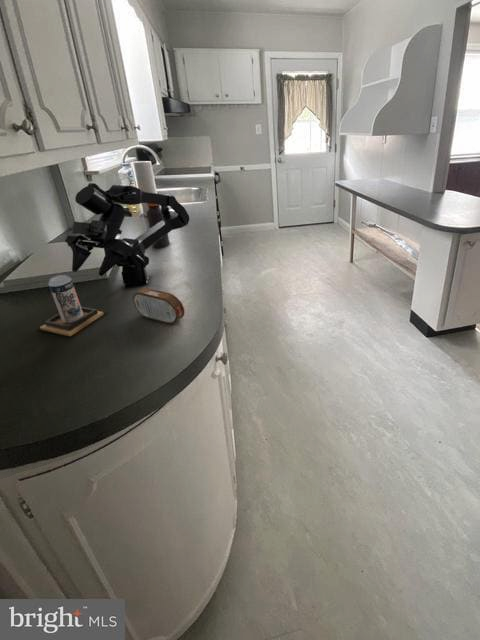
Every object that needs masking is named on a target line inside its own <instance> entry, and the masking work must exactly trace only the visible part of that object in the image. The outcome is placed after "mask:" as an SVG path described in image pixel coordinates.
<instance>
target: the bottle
mask: <svg viewBox="0 0 480 640" xmlns="http://www.w3.org/2000/svg"><path fill="white" fill-rule="evenodd" d="M146 206H147V207H148V209H147V211H146V217H147V223H148V227H149V229H150V228H152V227H153V226H154V225H156V224H157V223H159V222H160V221H162V217H163V214H162V213H161V206H160V205H159V204H150V203H146ZM169 237H170V236H169V233H168V234H166V235H165V236H164V237H162V238H161V239H160V240H158V241H157V242H156V243H154V244H153V245H152V246H153V247H154V248H165V247H168V246H169V245H170V238H169Z"/></svg>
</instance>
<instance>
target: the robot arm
mask: <svg viewBox="0 0 480 640" xmlns="http://www.w3.org/2000/svg"><path fill="white" fill-rule="evenodd" d="M74 201H75V203H76V204H78V205H79V206H81V207H82V208H84V209H86V210H88V211H89V212H91V213H92V214H94V215H97V216H98V215H100V216H99V218H98V220H91V222H84V221H83V222H82V221H73V223H72V230H71V234H68V235H67V236H66V238H65V240H64V243H66V244H67V246H68V247H69V248H70V249H71V251H72V263H71V264H72V265H71V271H72V272H74V273H77V272H78V271H79V270H80V269H81V268H82V267H83V265H84V263H85V262H86V261H87V259H88V258H89V257H90V255H92V254H93V253H92V250H94V248H96V249H103V251H104V257H103V260H102V262H101V265H100V268H99V271H98V275H99V276H100V277H103V276H104V275H105V274H107V273H108V272H109V271H110V270H111V269H112V268H114V267H115V266H117V267H121V272H120V274H121V278H122V282H123V284H124V288H126V289H128V288H134V287H140V286H147V284H148V282H149V277H150V276H149V275H148V272H147V266H149V264H150V257H148V256H147V255H145V254H146V250H148V249H149V248H151V247H152V246H153V244H154V243H156V242H157V241H158V240H160V239H161V238H162V237H164V236H165V235H166V234H168V235H169V234H170V232H172V231H174V230H178V229H182V228H184V227H186V226H188V224H189V222H190V215H189V213H188V211H187V210H186V208H185V206H183V205H182V204H181V203H180V202H179V201H178V200H177V198H176V197H175V196H174V195H172V194H166V193H165V194H164V193H158V192H157V193H156V192H150V191H144V190H142V189H141V188H139V187H136V186H134V185H127V184H112V185H111V186H110V187H109V189H107V190H104V189H102V188H101V187H100V186H99V185H98V184H97V183H94V182H89V183H88V184H87V186H85V187H83V188H81V190H79V191H77V193H76V195H75V198H74ZM147 203H150V204H159V205H160V208H161V213H162V214H163V217H162V221H160V222H159V223H157V224H156V225H154V226H153V227H152V228H149V229H147V230H146V231H144V232H143V233H142V234H139V235H138V236H137V237H135V238H129V237H128V238H127V237H123V238H117V236H118V235H122V233H123V230H121V227H122V225H123V222H124V220H125V218H133V213H132V212H131V210H130V208H129V207H124V206H123V205H125V206H134V205H141V204H147ZM169 207H170V208H171V209H170V208H169Z"/></svg>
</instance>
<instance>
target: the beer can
mask: <svg viewBox="0 0 480 640" xmlns="http://www.w3.org/2000/svg"><path fill="white" fill-rule="evenodd" d="M48 287H49V289H50V292H51V295H52V297H53V300H54V303H55V305H56V306H55V307H56V309H57V311H58V314H60V317H61V320H62V322H65V323H71V322H75V321H77V320H79V319H80V318H81V317H82V316H83V312H82V309H81V307H82V305H81V303H80V299H79V296H78V293H77V291H76V288H75V285H74V282H73V278H72V277H70V276H69V275H68V274H58V275H56V276H53V277H51V278H50V279H49V281H48Z"/></svg>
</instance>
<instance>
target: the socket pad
mask: <svg viewBox="0 0 480 640" xmlns="http://www.w3.org/2000/svg"><path fill="white" fill-rule="evenodd" d="M81 309H82V312H83V316H82V317H81V318H80V319H79V320H77V321H75V322H71V323H65V322H62V320H61V317H60V314H59V313H57V314H56V315H53V316H52V317H50V318H48V319H46V320H44V324H42V325H41V326H40V327H39V330H40V331H44V332H49V333H53V334H56V335H57V334H58V335H62V336H67V337H72V336H73V335H75V334H76V333H78V332H79V331H81V330H83V329H84V328H85V327H87V326H89V325H90V324H92V323H93V322H95V321H96V320H98V319H99V318H101V317H102V316H104V315H105V314H104V311H100V310H97V308H91V307H86V306H81Z"/></svg>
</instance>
